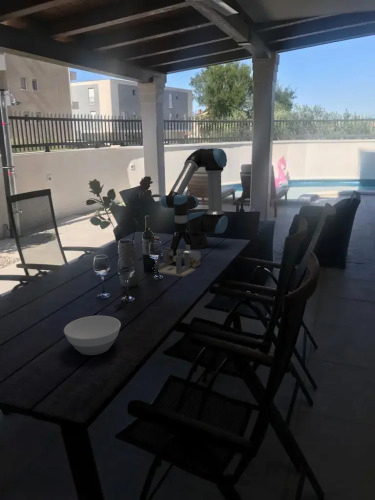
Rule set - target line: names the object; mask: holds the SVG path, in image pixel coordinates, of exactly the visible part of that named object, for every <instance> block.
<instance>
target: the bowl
mask: <svg viewBox="0 0 375 500" xmlns="http://www.w3.org/2000/svg"><path fill="white" fill-rule="evenodd" d="M121 326H122V325H121V321H120V320H119V319H118V318H115V317H113V316H109V315H91V316H89V315H88V316H84V317H80V318H78V319H75V320H72V321H70V322H69V323H67V325H65V327H64V329H63V334H64V336H65V338H66V339H67V341H68V342H69V343H70V344H71V345H72V346H73V347H74V349H75V350H77V351H78V352H79V353H80V354H81V355H85V356H97V355H100V354H103V353H105V352H107V351H109V349H110V348H111V347H112V346H113V345H114V342H115V340H116V339H117V337H118V335H119V332H120V329H121Z"/></svg>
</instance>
